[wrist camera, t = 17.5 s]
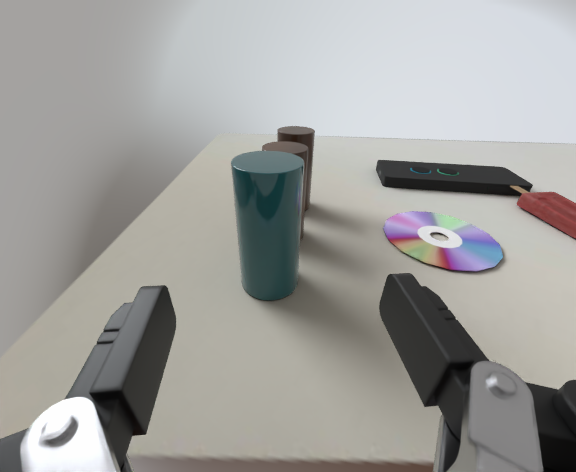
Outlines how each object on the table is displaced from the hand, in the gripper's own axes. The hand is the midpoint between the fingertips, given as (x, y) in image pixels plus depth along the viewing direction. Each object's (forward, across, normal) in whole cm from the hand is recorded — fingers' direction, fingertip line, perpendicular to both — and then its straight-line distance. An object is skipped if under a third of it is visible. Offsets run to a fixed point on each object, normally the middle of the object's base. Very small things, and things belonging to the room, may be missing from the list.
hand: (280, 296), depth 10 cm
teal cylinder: (+10, 0, +8) cm, 13 cm away
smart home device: (+31, -28, +8) cm, 42 cm away
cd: (+15, -18, +8) cm, 25 cm away
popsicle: (+19, -34, +8) cm, 40 cm away
